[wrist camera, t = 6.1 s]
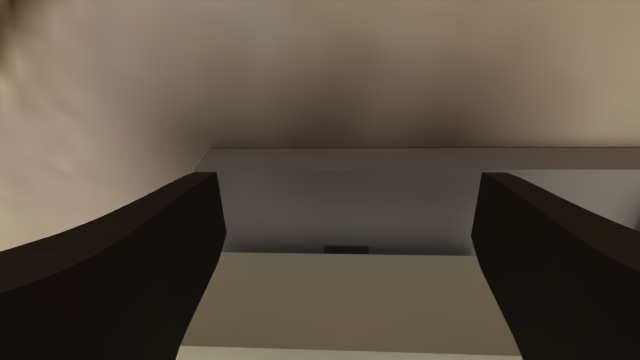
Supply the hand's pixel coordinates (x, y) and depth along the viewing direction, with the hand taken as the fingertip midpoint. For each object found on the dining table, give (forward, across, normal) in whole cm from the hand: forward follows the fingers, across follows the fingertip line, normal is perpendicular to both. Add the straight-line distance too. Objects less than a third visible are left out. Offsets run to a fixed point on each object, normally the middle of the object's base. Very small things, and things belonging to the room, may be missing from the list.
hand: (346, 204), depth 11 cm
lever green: (+2, 0, +4) cm, 4 cm away
